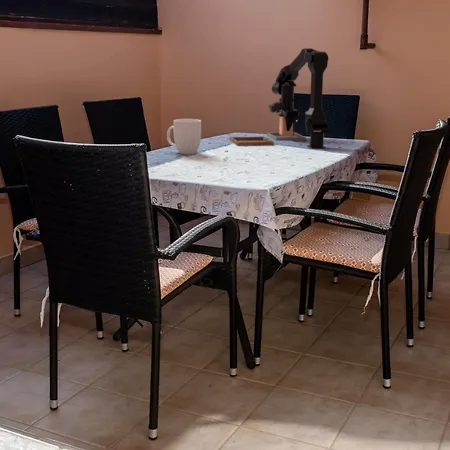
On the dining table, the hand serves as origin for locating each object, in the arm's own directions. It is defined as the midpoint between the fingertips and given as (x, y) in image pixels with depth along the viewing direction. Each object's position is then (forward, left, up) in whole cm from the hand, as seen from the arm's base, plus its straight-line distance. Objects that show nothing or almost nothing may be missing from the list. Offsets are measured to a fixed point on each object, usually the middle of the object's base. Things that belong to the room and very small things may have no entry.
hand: (286, 130), depth 302 cm
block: (0, 0, -2) cm, 2 cm away
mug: (-34, +52, -4) cm, 62 cm away
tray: (0, 0, -4) cm, 4 cm away
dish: (-14, +20, -4) cm, 25 cm away
